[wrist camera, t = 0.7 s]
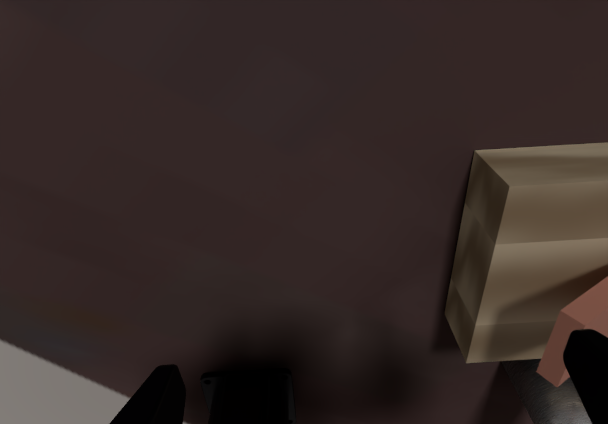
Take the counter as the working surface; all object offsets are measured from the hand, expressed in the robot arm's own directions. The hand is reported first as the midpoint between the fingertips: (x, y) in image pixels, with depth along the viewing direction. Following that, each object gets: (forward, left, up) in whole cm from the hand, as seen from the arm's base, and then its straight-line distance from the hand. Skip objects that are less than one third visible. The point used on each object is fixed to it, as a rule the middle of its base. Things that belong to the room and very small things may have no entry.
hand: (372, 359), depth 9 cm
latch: (-7, -15, -9) cm, 19 cm away
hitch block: (-7, -16, -14) cm, 22 cm away
